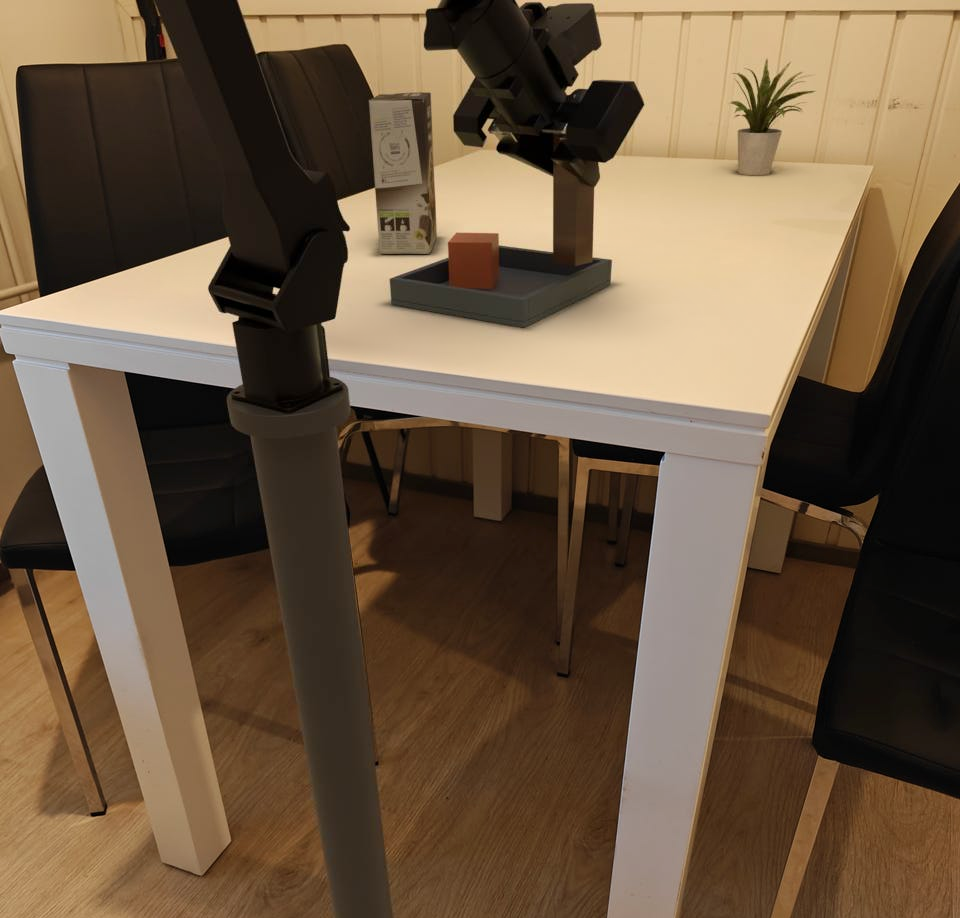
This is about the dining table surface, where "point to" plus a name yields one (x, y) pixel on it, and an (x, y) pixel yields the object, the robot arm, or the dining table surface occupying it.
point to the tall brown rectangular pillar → (571, 217)
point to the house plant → (762, 122)
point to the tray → (504, 288)
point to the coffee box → (404, 172)
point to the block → (474, 260)
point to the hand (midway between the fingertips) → (583, 180)
